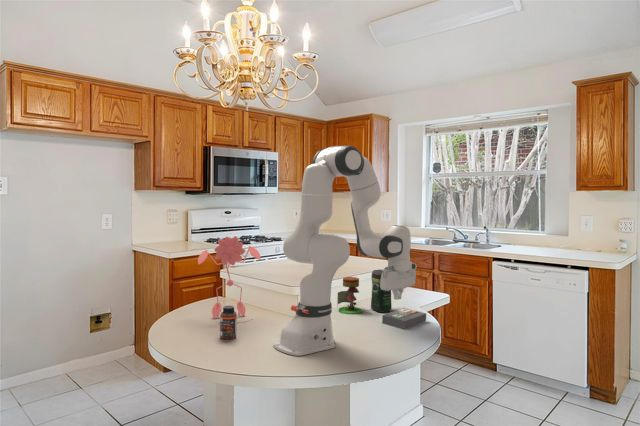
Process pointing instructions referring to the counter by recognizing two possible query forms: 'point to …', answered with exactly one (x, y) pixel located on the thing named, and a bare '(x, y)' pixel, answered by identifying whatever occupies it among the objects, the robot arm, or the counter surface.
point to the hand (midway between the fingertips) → (397, 299)
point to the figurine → (229, 254)
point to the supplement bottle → (228, 323)
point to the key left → (398, 316)
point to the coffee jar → (379, 294)
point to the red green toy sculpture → (349, 296)
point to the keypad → (404, 319)
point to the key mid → (405, 312)
